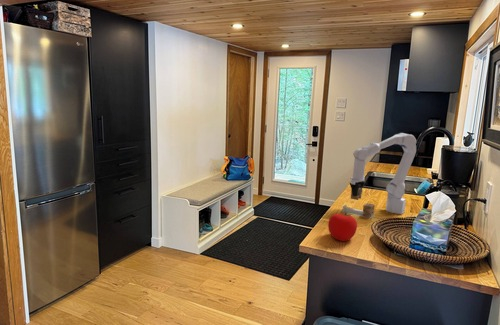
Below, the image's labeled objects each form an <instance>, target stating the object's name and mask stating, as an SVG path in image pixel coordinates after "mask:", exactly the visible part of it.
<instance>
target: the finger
mask: <svg viewBox="0 0 500 325" xmlns="http://www.w3.org/2000/svg"><path fill="white" fill-rule="evenodd" d="M362 211H363V216H365V217H364V218H366V217H369V218H368V219H370V218H371V213H373V215H375V204H373V203H369V202H366V203H365V204H363V208H362ZM371 219H372V218H371Z"/></svg>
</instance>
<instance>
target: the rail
mask: <svg viewBox="0 0 500 325" xmlns="http://www.w3.org/2000/svg"><path fill="white" fill-rule="evenodd" d="M340 212H341V213H344V214H345V213H346V214H353V215H354V216H357V217H362V218H367V219H370V220H371V219H373V217H375V216H376V215H375V214H374V215H373V213H371V218H369V217H365V216H363V209H362V210H361V209H357V208H354V207H349V206H347V204H344V205H343V206H342V210H341V211H340Z"/></svg>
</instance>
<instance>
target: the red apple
mask: <svg viewBox="0 0 500 325" xmlns="http://www.w3.org/2000/svg"><path fill="white" fill-rule="evenodd" d="M352 215H353V214H349V213H345V212H344V213H342V212H341V213H334V214H332V215H331V216H330V217H329V220H328V222H327V226H328V227H327V228H328V232H329V233H330V235H331V236H332V238H334V239H335V240H337V241H341V242H345V241H346V242H347V241H349V240H351V239H352V238H354V236H355V234H356V233H357V229H358V223H357V220H356V219H355V217H354V216H352Z"/></svg>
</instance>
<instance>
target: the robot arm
mask: <svg viewBox="0 0 500 325" xmlns="http://www.w3.org/2000/svg"><path fill="white" fill-rule="evenodd" d="M416 144H417V139H416V137H415V136H414V135H413V134H411V133H410V134H409V133H404V132H399V133H396V134H394V135H393V136H391V137H389V138H386V139H384V140H382V141H380V142H379V143H378V142H377V143H376V142H370V143H369V144H368V145H366V146H361V147H360V148H356V149H355V150H354V152H352V153H353V158H354V162H353V173H352V176H351V177H350V180H351V182H349V186H350V188H351V189H352V195H353V196H357V193H358V190H359V187H361V188H362V189H363V188H364V186H365V184H366V181H365V178H366V177H365V169H366V161H367V159H368V158H369V157H371V156H374V155H376V154H378V153H380V151H381V150H382V149H385V148H387V147H391V146H392V145H399V146H400V147H401V148H402V150H403V154H402V157H401V160H400V162H399V165H398V167H397V170H396V173H395V175H394V177H393V178H392V179H391V180H390V182H389V183H388V184H387V185H386V187H385V191H386V193H387V197H386V206H385V211H386V212H389V213H392V214H397V215H403V214H404V213H405V209H406V203H407V202H406V200H407V199H406V198H404V197H403V196H404V195H405V193H406V192H405V188H406V184H405V181H406V178H407V176H408V173H409V171H410V168H411V166H412V163H413V161H414V158H415V156H416V153H417V145H416Z"/></svg>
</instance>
